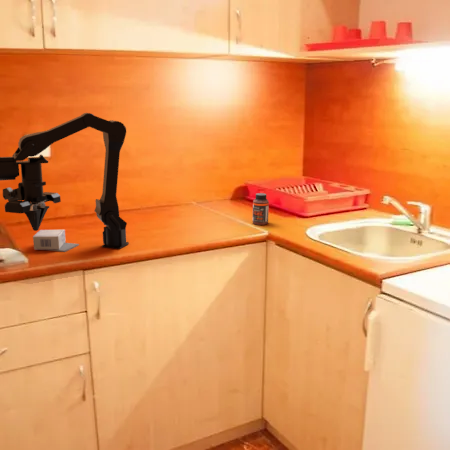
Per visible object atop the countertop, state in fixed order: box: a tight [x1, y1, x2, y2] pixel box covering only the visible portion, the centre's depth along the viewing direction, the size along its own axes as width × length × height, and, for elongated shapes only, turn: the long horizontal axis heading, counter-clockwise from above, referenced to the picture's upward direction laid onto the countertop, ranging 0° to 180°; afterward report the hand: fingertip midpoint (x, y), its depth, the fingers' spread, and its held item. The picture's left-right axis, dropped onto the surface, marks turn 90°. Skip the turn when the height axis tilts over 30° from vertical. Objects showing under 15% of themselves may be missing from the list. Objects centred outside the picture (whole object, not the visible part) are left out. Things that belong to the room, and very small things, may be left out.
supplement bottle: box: [252, 192, 270, 226], centre depth 202 cm, size 6×6×11 cm
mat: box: [49, 242, 80, 253], centre depth 172 cm, size 9×8×1 cm
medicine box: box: [32, 229, 66, 251], centre depth 171 cm, size 8×4×9 cm
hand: (35, 230), depth 162 cm, fingers closed
